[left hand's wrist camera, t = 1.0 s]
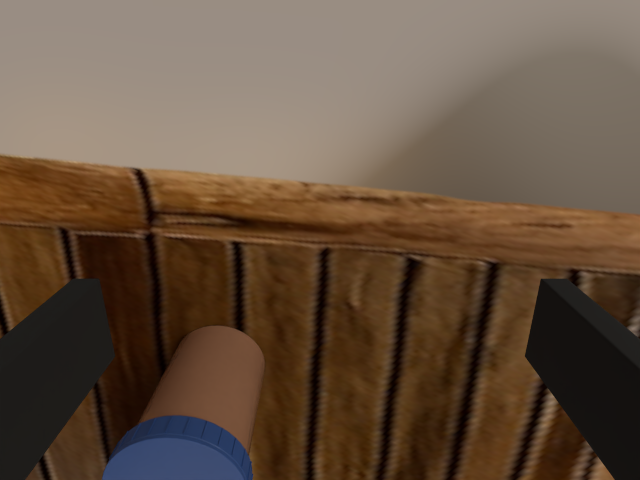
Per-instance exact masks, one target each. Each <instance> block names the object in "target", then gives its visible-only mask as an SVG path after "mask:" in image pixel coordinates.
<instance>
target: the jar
mask: <svg viewBox="0 0 640 480" xmlns="http://www.w3.org/2000/svg"><path fill="white" fill-rule="evenodd" d="M264 372H265V360H264V356H263V354H262V351H261V349H260V348H259V346H258V345H257V344H256V342H255V341H254V340H253V339H252V338H250V337H249V336H248V335H246V334H245V333H243V332H241V331H239V330H237V329H234V328H231V327H226V326H206V327H202V328H199V329H197V330H194V331H193V332H191V333H189V334H188V335H187V336H186V337H184V339H183V340H182V341H181V342H180V344H179V345H178V347H177V349H176V351H175V353H174V355H173V357H172V359H171V361H170V362H169V364H168V366H167V368H166V370H165V372H164V374H163V376H162V378H161V380H160V382H159V383H158V385H157V387H156V389H155V391H154V393H153V395H152V397H151V399H150V401H149V402H148V404H147V406H146V408H145V410H144V412H143V414H142V416H141V418H140V420H139V422H138V423H137V425H138V424H139V423H142V422H144V421H147V420H149V419H153V418H157V417H162V416H172V415H181V416H190V417H196V418H200V419H203V420H206V421H209V422H212V423H214V424H216V425H218V426H220V427H222V428H224V429H225V430H227V431H228V432H230V433H231V434H232V435H233V436H234V437H236V438H237V440H238V441H239V442H240V443H241V444H242V445H243V447H244V448H245V449H246V452H247V454H248V455H249V452H250V446H251V441H252V436H253V430H254V425H255V420H256V414H257V409H258V404H259V398H260V393H261V388H262V382H263V377H264Z"/></svg>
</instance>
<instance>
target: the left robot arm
mask: <svg viewBox="0 0 640 480" xmlns="http://www.w3.org/2000/svg"><path fill="white" fill-rule="evenodd" d="M114 357H115V353H114V349H113V344H112V339H111V334H110V329H109V325H108V320H107V315H106V310H105V305H104V300H103V296H102V291H101V286H100V281H99V279H72V280H71V281H70V282H69V283H68V284H66V285H65V286H64V287H63V288H62V289H60V290H59V291H58V292H57V293H55V294H54V295H53V296H52V297H51V298H49V299H48V300H47V301H46V302H45V303H43V304H42V305H41V306H40V307H38V308H37V309H36V310H35V311H34V312H32V313H31V314H30V315H29V316H28V317H26V318H25V319H24V320H23V321H21V322H20V323H19V324H18V325H17V326H15V327H14V328H13V329H12V330H11V331H9V332H8V333H7V334H6V335H5V336H3V337H2V338H1V339H0V480H25V479H26V478H27V476H28V475H29V474H30V472H31V471H32V470H33V468H34V467H35V465H36V464H37V463H38V461H39V460H40V459H41V457H42V456H43V454H44V453H45V452H46V450H47V449H48V448H49V446H50V445H51V443H52V442H53V441H54V439H55V438H56V437H57V435H58V434H59V433H60V431H61V430H62V428H63V427H64V426H65V424H66V423H67V422H68V420H69V419H70V417H71V416H72V415H73V413H74V412H75V411H76V409H77V408H78V406H79V405H80V404H81V402H82V401H83V400H84V398H85V397H86V396H87V394H88V393H89V391H90V390H91V389H92V387H93V386H94V385H95V383H96V382H97V380H98V379H99V378H100V376H101V375H102V374H103V372H104V371H105V369H106V368H107V367H108V365H109V364H110V363H111V361H112V360H113V358H114ZM525 357H526V358H527V360H528V361H529V363H530V364H531V365H532V367H533V368H534V369H535V371H536V372H537V374H538V375H539V376H540V378H541V379H542V380H543V382H544V383H545V385H546V386H547V387H548V389H549V390H550V391H551V393H552V394H553V396H554V397H555V398H556V400H557V401H558V402H559V404H560V405H561V406H562V408H563V409H564V411H565V412H566V413H567V415H568V416H569V417H570V419H571V420H572V422H573V423H574V424H575V426H576V427H577V428H578V430H579V431H580V433H581V434H582V435H583V437H584V438H585V439H586V441H587V442H588V443H589V445H590V446H591V448H592V449H593V450H594V452H595V453H596V454H597V456H598V457H599V459H600V460H601V461H602V463H603V464H604V465H605V467H606V468H607V470H608V471H609V472H610V474H611V475H612V476H613V478H614V479H615V480H640V339H639V338H638V337H637V336H635V335H634V334H633V333H632V332H631V331H629V330H628V329H627V328H626V327H625V326H623V325H622V324H621V323H620V322H619V321H617V320H616V319H615V318H614V317H612V316H611V315H610V314H609V313H608V312H606V311H605V310H604V309H603V308H602V307H600V306H599V305H598V304H597V303H595V302H594V301H593V300H592V299H591V298H589V297H588V296H587V295H586V294H585V293H583V292H582V291H581V290H580V289H578V288H577V287H576V286H575V285H574V284H572V283H571V282H570V281H569V280H568V279H541V281H540V286H539V291H538V296H537V300H536V305H535V310H534V315H533V320H532V324H531V329H530V334H529V339H528V344H527V349H526V353H525Z"/></svg>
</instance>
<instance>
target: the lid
mask: <svg viewBox="0 0 640 480" xmlns="http://www.w3.org/2000/svg"><path fill="white" fill-rule="evenodd" d="M109 459H110V460H109V462H108V464H107V466H106V468H105V470H104V473H103V477H102V480H252V478H253V474H252V466H251V463H252V462H251V461H250V458H249V455H248V454H247V452H246V449H245V448H244V447H243V445H242V444H241V443H240V442H239V441H238V440H237V438H236V437H234V436H233V435H232V434H231V433H230V432H228V431H227V430H225V429H224V428H222V427H220V426H218V425H216V424H214V423H212V422H209V421H206V420H203V419H200V418H196V417H190V416H181V415H172V416H162V417H157V418H153V419H149V420H147V421H144V422H142V423H139V424H138V425H136V426H135V427H133V428H132V429H131V430H129V431H127V433H126V434H125V435H124V436H123V438H122V439H121V441H119V442H118V443H117V445H116V447H115V449H114V451H113V453H112V454H111V456H110V458H109Z"/></svg>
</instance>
